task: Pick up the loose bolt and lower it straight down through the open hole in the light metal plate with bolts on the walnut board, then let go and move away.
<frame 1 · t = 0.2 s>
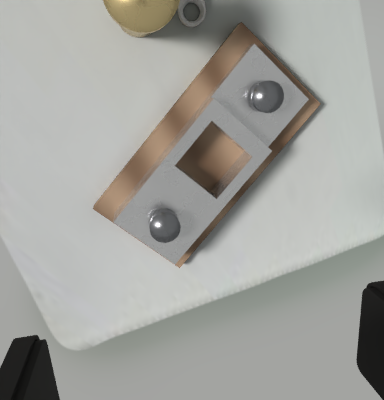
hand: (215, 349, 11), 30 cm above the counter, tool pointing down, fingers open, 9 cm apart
board: (205, 153, 40), on the counter
bolt: (137, 14, 35), on the counter
metal plate with bolts: (212, 160, 37), on the board, point 4 cm above the counter
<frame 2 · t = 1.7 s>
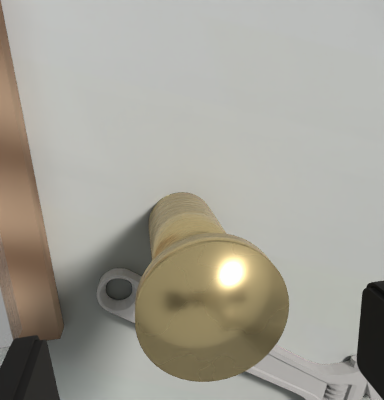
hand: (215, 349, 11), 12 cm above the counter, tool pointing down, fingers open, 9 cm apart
bolt: (180, 223, 23), on the counter
adjustable wrench: (264, 341, 27), on the counter
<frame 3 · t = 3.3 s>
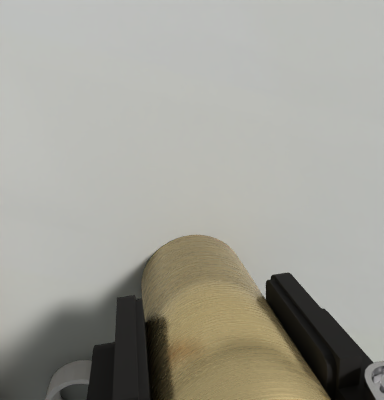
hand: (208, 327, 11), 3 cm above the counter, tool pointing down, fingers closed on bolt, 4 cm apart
bolt: (193, 282, 14), on the counter, touching gripper
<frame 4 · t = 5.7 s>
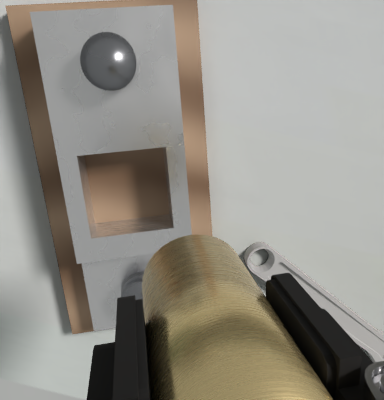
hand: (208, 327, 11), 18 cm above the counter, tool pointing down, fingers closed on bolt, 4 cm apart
board: (128, 179, 28), on the counter
bolt: (194, 282, 14), point 15 cm above the counter, touching gripper
metal plate with bolts: (127, 191, 24), on the board, point 4 cm above the counter
adjustable wrench: (345, 309, 35), on the counter
when the fingers open (5 cm above the counter, at t = 8.3 s): bolt drops 1 cm, resting on board.
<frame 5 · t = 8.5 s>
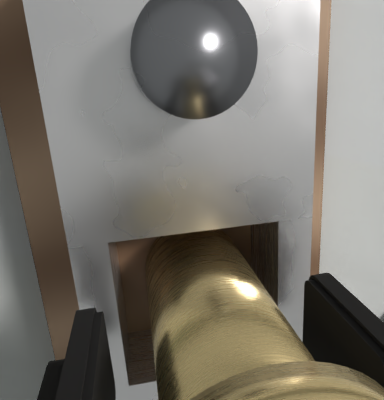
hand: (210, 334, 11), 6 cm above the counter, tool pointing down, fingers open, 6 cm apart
board: (183, 254, 17), on the counter
bolt: (192, 266, 15), point 1 cm above the counter, touching board
metal plate with bolts: (197, 297, 13), on the board, point 4 cm above the counter
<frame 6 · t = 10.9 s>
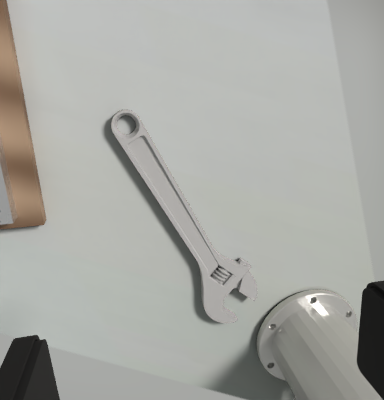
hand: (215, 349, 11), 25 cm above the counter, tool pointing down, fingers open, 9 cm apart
adjustable wrench: (192, 219, 37), on the counter
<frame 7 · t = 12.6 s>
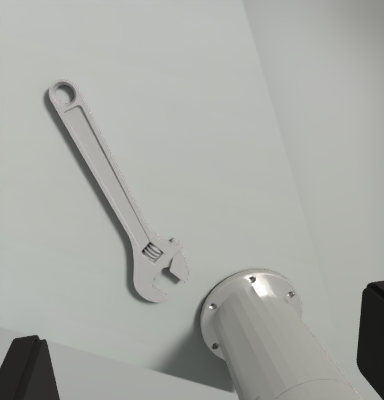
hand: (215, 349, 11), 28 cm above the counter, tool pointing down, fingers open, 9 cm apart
adjustable wrench: (128, 195, 38), on the counter
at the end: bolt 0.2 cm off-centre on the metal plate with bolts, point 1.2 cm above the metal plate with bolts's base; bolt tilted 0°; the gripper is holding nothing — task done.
